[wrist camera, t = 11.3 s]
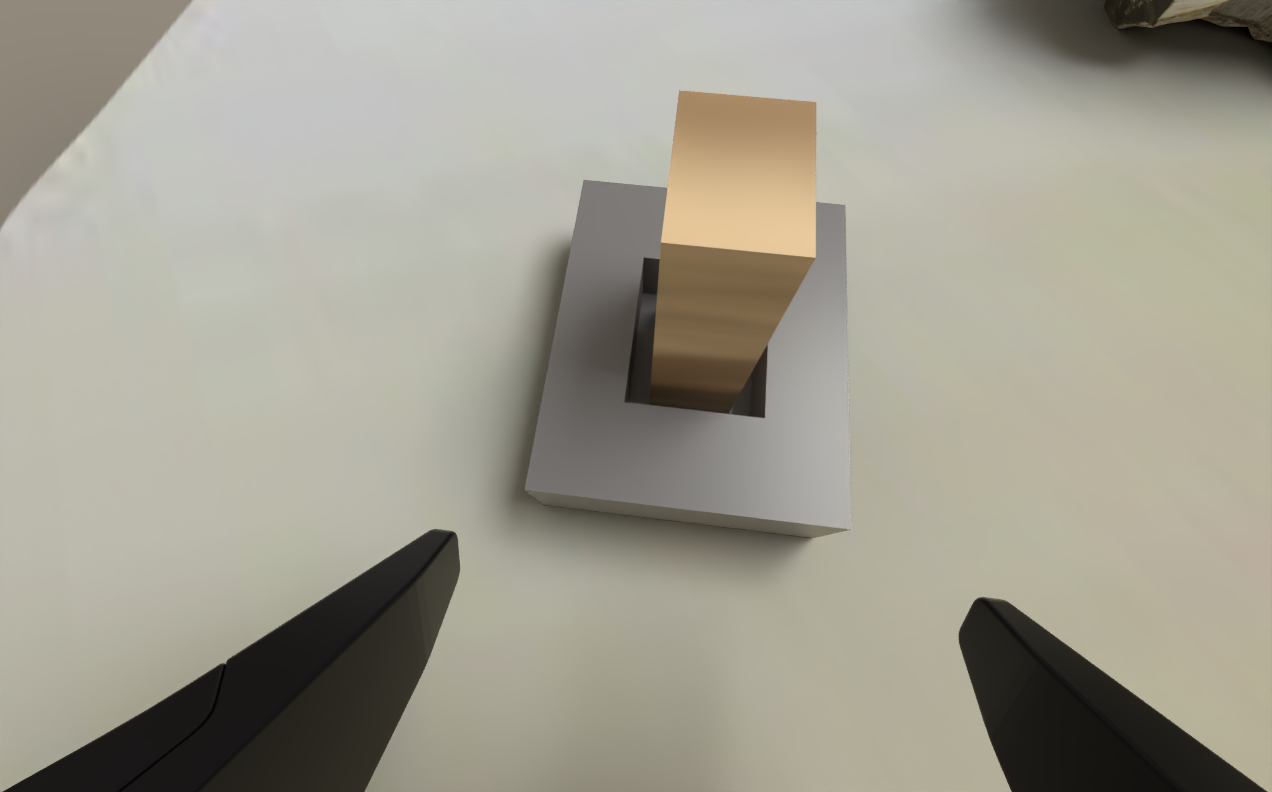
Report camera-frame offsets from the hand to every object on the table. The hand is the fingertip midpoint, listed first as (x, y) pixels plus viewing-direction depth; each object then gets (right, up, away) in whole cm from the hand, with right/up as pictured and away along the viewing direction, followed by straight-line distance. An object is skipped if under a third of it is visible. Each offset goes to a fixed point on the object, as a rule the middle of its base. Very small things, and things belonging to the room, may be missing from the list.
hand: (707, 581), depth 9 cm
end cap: (+1, +4, +12) cm, 13 cm away
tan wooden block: (+1, +5, +11) cm, 12 cm away
